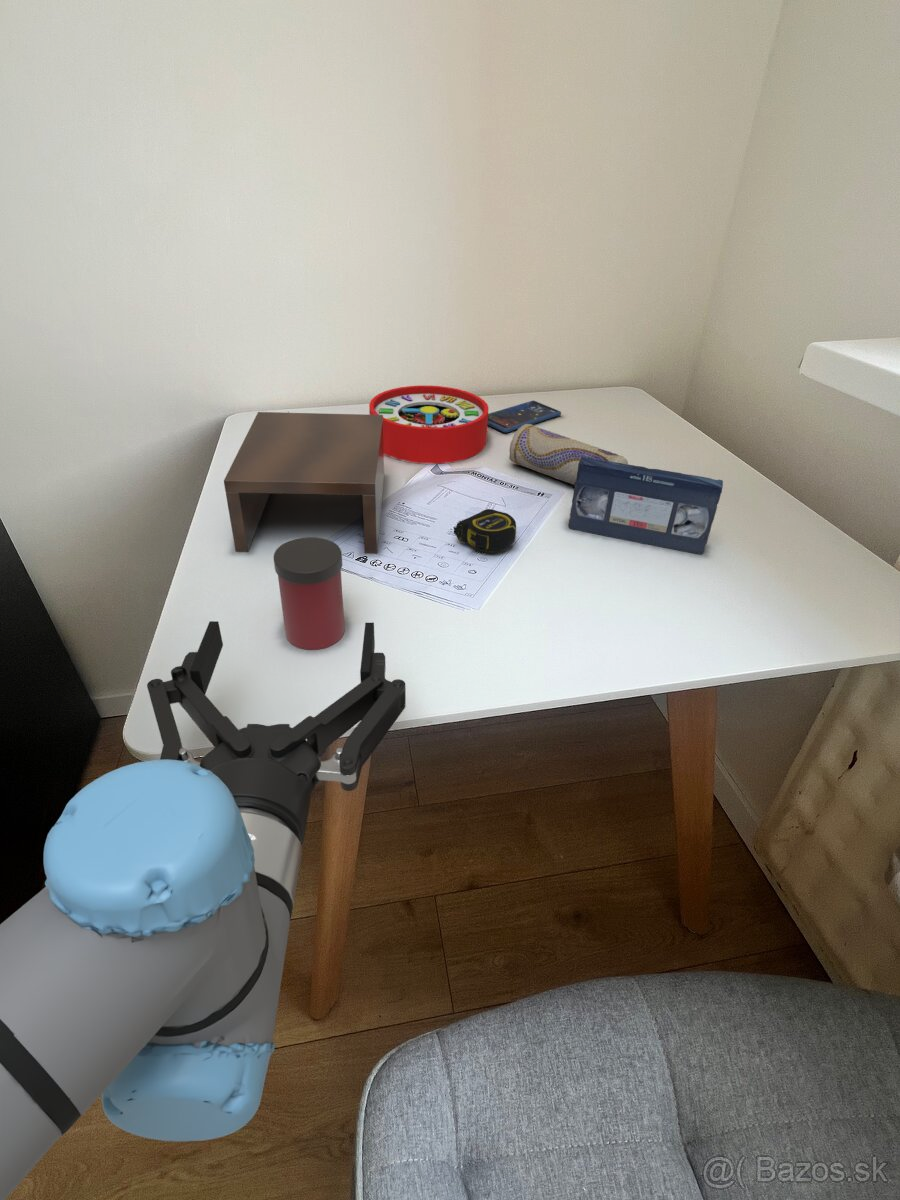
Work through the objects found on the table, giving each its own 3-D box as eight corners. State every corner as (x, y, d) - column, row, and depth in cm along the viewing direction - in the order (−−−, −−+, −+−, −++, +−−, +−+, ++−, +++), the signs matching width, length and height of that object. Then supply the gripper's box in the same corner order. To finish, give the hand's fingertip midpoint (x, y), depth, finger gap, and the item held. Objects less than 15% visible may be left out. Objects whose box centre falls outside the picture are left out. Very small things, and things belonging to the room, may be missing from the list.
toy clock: (484, 387, 125) (493, 430, 109) (482, 418, 128) (490, 465, 112) (372, 383, 124) (364, 427, 108) (373, 415, 128) (365, 462, 111)
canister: (278, 651, 74) (268, 572, 68) (288, 612, 79) (279, 536, 73) (343, 651, 74) (338, 573, 68) (348, 612, 79) (344, 537, 74)
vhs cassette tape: (566, 528, 97) (577, 462, 91) (571, 519, 99) (581, 453, 93) (703, 557, 92) (723, 489, 86) (704, 546, 94) (724, 479, 88)
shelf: (235, 551, 89) (223, 480, 83) (266, 474, 107) (257, 411, 101) (377, 553, 90) (375, 483, 84) (384, 477, 108) (382, 414, 102)
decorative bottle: (503, 469, 111) (507, 429, 107) (529, 455, 116) (534, 417, 112) (651, 525, 99) (662, 482, 95) (674, 506, 103) (685, 465, 99)
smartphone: (476, 416, 126) (533, 399, 135) (476, 420, 127) (532, 403, 135) (505, 430, 122) (562, 411, 130) (505, 434, 122) (562, 415, 131)
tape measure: (488, 526, 97) (490, 502, 94) (525, 546, 93) (528, 521, 90) (452, 542, 93) (453, 517, 90) (489, 564, 89) (491, 538, 87)
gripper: (439, 802, 43) (434, 601, 61) (28, 803, 42) (141, 598, 59) (436, 871, 48) (432, 666, 65) (64, 875, 47) (160, 664, 64)
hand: (293, 633), depth 62 cm, fingers open, 13 cm apart
